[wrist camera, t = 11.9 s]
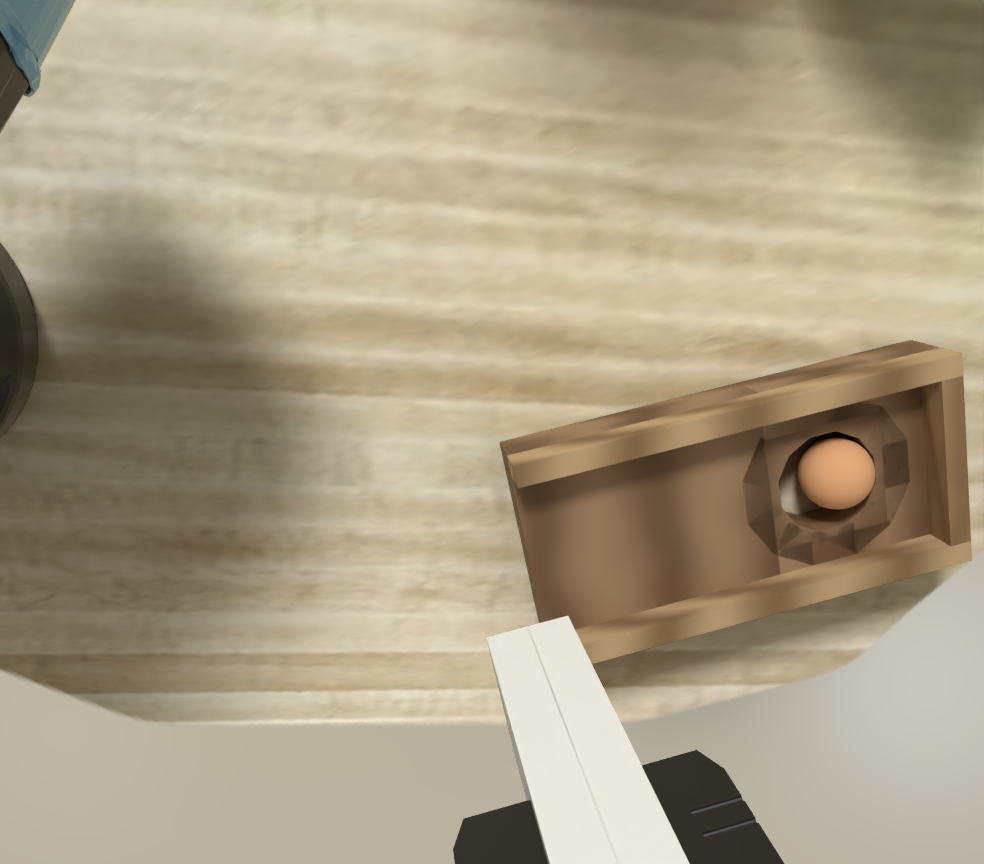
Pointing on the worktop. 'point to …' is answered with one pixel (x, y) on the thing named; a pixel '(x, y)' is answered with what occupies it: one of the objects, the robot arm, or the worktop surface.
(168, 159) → the worktop surface
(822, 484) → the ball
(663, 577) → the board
